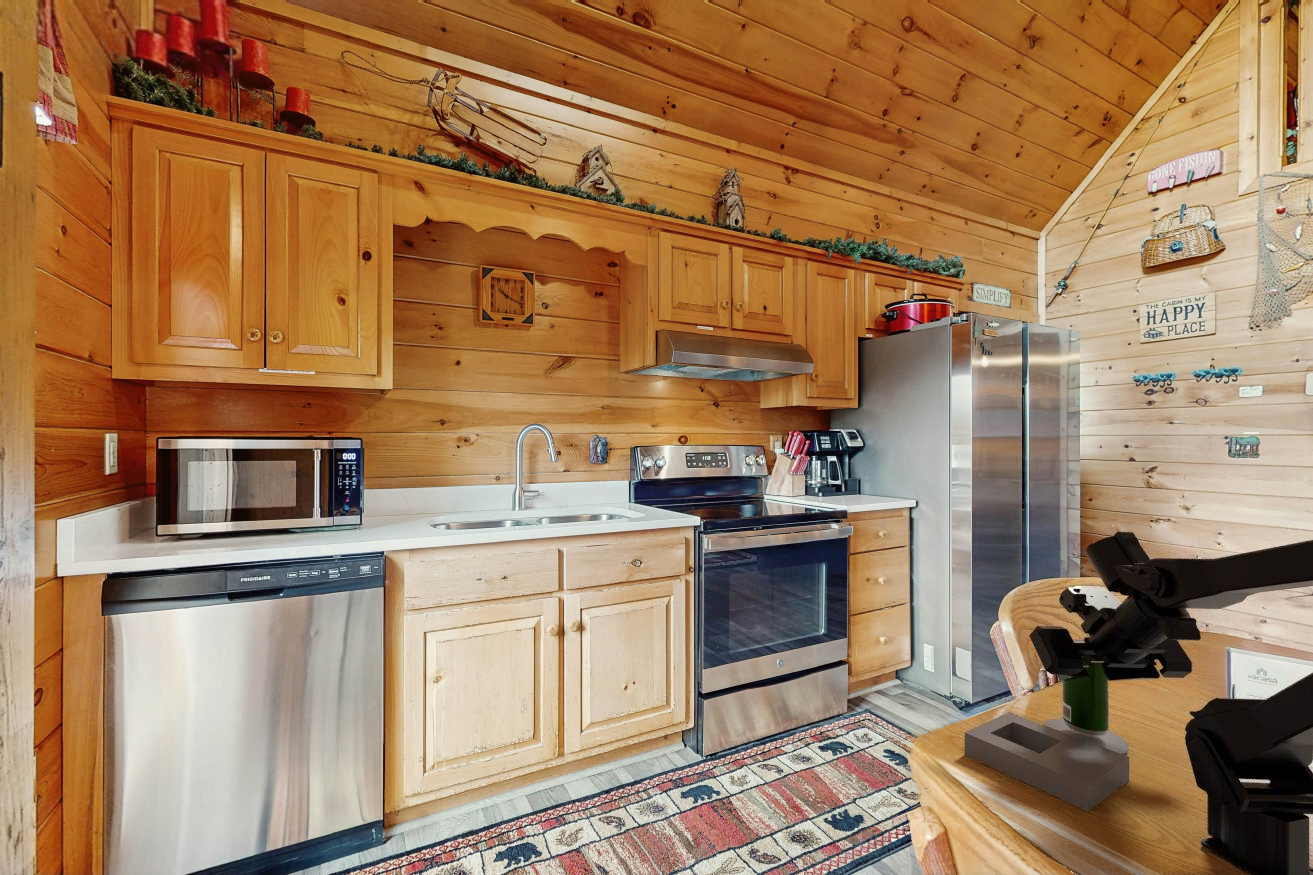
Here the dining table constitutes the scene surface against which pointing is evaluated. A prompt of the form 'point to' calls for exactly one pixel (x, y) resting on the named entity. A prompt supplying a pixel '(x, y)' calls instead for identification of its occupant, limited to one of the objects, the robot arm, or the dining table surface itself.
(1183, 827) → the dining table surface
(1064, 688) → the beer can
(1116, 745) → the coaster
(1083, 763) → the can dock
